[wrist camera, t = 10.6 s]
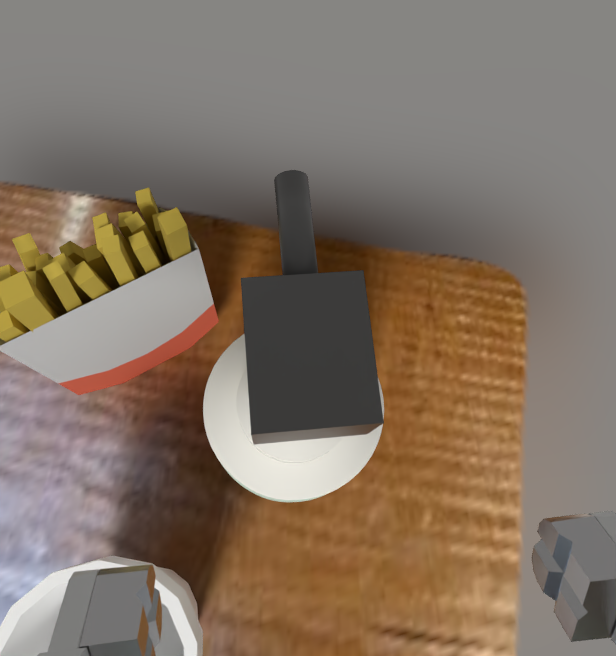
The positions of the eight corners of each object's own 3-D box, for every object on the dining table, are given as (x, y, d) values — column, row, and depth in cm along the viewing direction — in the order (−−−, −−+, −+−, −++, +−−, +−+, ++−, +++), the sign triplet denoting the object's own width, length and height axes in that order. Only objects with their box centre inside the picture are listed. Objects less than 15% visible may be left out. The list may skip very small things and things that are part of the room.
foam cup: (83, 544, 38) (-5, 564, 26) (220, 538, 39) (198, 555, 26) (71, 704, 35) (-35, 814, 23) (219, 695, 36) (194, 796, 24)
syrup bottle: (226, 508, 39) (181, 515, 19) (219, 380, 42) (173, 265, 22) (355, 495, 40) (445, 488, 20) (340, 370, 43) (406, 251, 22)
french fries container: (64, 349, 42) (-77, 244, 25) (194, 283, 44) (147, 145, 27) (89, 402, 41) (-39, 330, 24) (221, 332, 43) (191, 220, 26)
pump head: (256, 457, 25) (251, 434, 17) (244, 273, 28) (234, 169, 19) (344, 449, 26) (383, 423, 17) (324, 269, 28) (349, 164, 20)
